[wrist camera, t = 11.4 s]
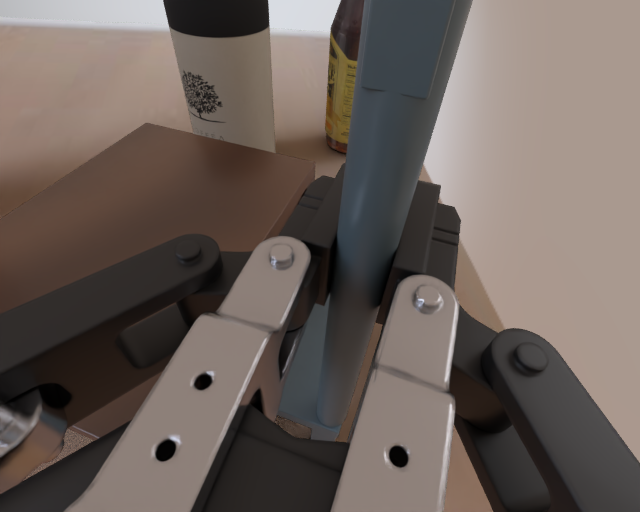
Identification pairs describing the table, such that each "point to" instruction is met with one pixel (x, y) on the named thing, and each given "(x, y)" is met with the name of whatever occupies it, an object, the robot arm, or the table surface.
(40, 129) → the table surface
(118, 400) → the walnut table
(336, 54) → the sauce bottle
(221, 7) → the travel mug
